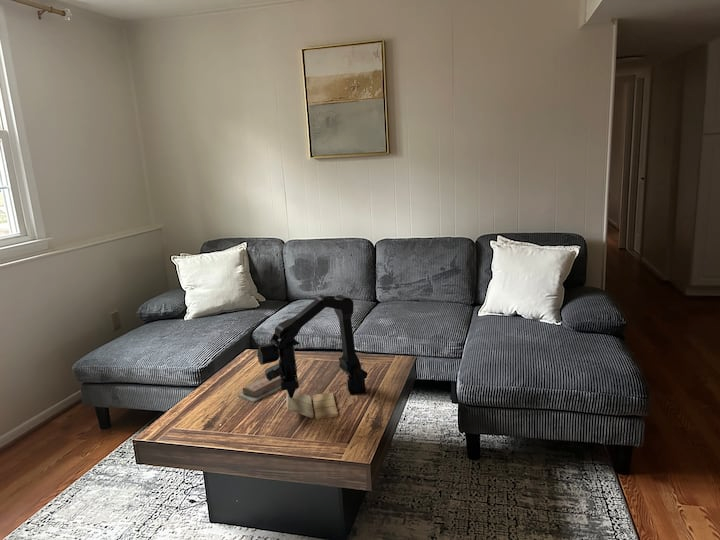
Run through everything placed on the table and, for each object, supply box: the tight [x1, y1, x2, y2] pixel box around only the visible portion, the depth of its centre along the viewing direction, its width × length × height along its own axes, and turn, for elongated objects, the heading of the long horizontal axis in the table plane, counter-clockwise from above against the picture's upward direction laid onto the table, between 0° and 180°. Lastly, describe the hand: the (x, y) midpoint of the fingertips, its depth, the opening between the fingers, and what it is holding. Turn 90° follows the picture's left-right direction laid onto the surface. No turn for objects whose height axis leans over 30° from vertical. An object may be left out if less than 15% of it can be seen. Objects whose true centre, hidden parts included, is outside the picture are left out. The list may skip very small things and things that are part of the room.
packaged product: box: [237, 376, 281, 403], centre depth 216 cm, size 18×5×10 cm
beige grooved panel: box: [285, 390, 315, 419], centre depth 197 cm, size 10×16×1 cm, turn 9°
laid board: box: [311, 392, 339, 420], centre depth 199 cm, size 8×18×1 cm, turn 9°
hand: (291, 397), depth 197 cm, fingers closed, pressing on beige grooved panel
